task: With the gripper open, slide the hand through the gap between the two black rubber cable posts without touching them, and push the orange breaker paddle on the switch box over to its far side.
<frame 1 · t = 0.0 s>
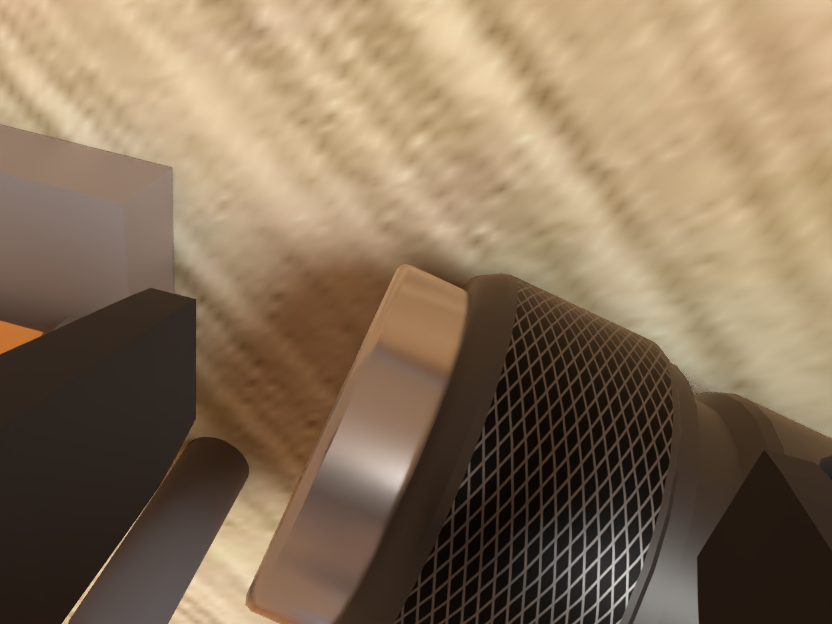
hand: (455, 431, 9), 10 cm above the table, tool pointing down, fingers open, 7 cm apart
switch box: (53, 271, 22), on the table
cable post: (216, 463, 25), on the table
muzzle brake: (807, 489, 21), on the table
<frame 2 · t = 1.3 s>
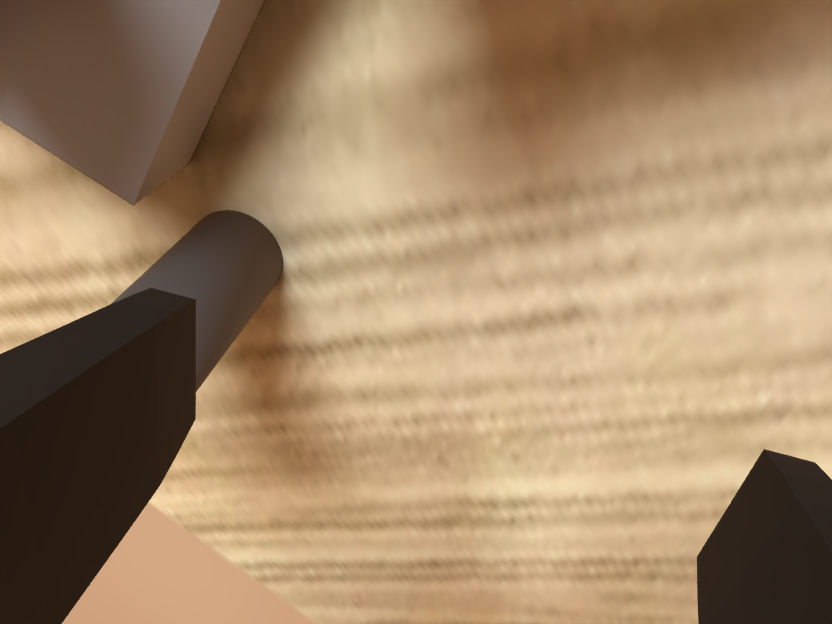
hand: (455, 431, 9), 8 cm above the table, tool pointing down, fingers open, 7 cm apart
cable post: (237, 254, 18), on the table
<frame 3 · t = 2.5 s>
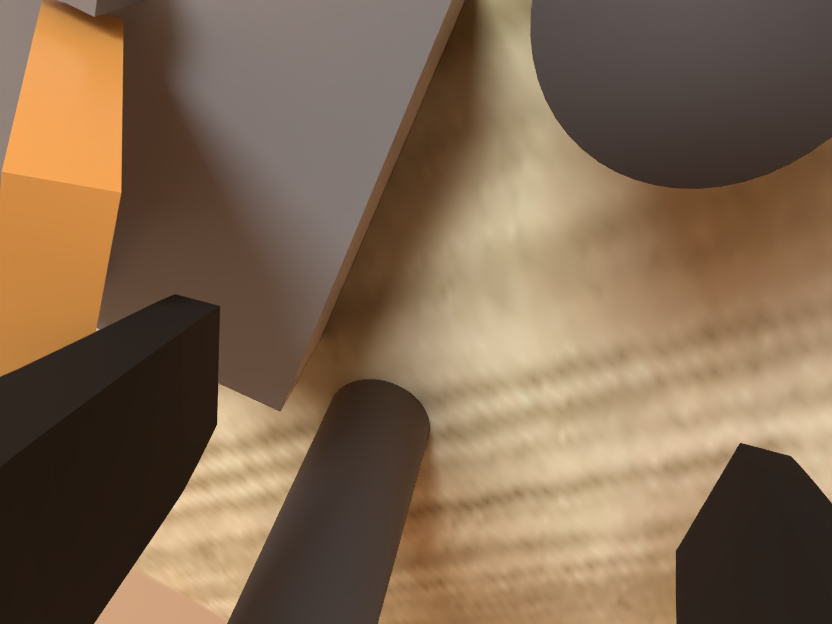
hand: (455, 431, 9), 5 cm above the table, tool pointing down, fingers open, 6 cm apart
breaker paddle: (58, 214, 9), point 5 cm above the table, hinge at -29.7°, touching gripper
switch box: (165, 81, 13), on the table
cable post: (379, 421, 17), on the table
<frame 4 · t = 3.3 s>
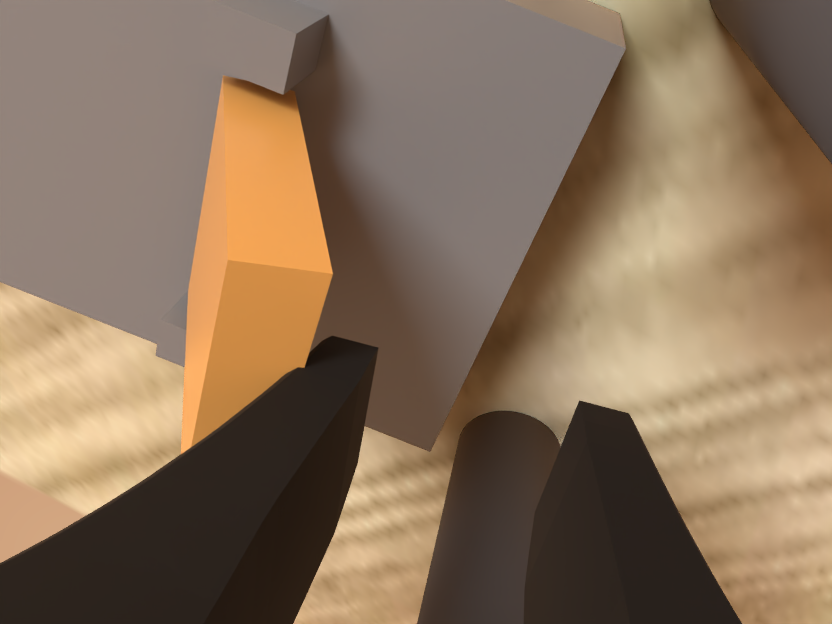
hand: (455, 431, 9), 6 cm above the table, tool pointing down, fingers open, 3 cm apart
breaker paddle: (241, 284, 9), point 5 cm above the table, hinge at -25.1°, touching gripper
switch box: (301, 136, 14), on the table
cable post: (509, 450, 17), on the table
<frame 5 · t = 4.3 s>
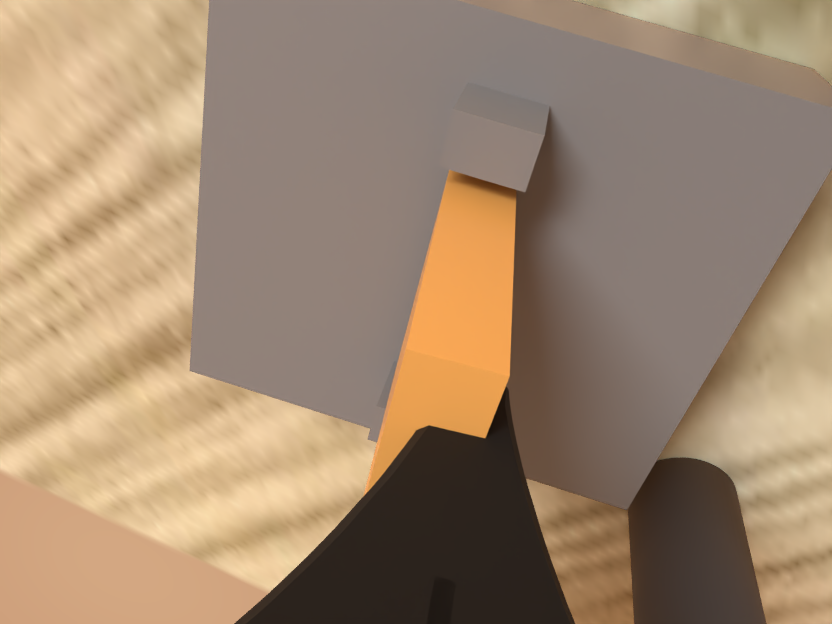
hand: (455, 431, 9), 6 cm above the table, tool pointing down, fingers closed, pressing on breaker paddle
breaker paddle: (435, 370, 10), point 5 cm above the table, hinge at -4.3°, touching gripper
switch box: (476, 208, 14), on the table
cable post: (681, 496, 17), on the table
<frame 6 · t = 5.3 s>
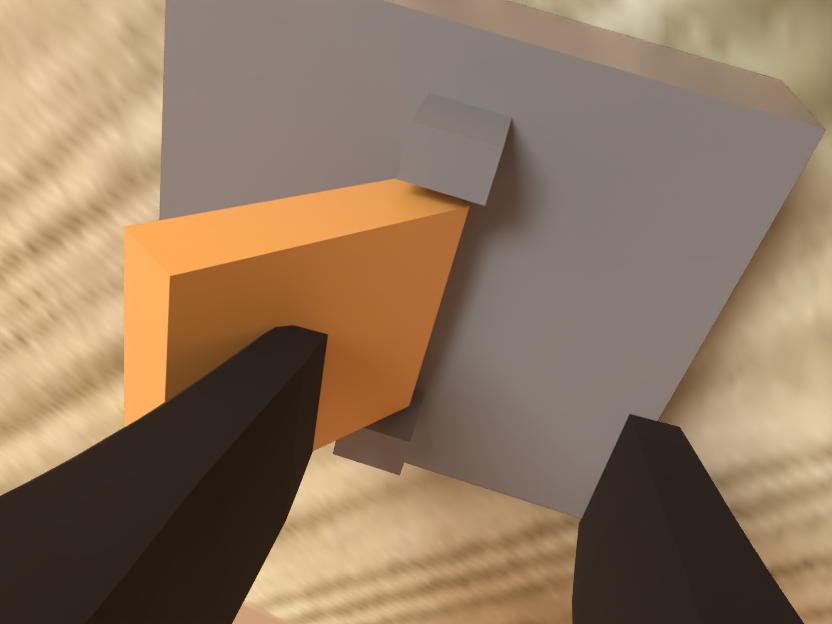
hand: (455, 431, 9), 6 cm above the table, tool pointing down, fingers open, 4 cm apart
breaker paddle: (299, 336, 10), point 5 cm above the table, hinge at 35.8°, touching gripper
switch box: (445, 218, 14), on the table
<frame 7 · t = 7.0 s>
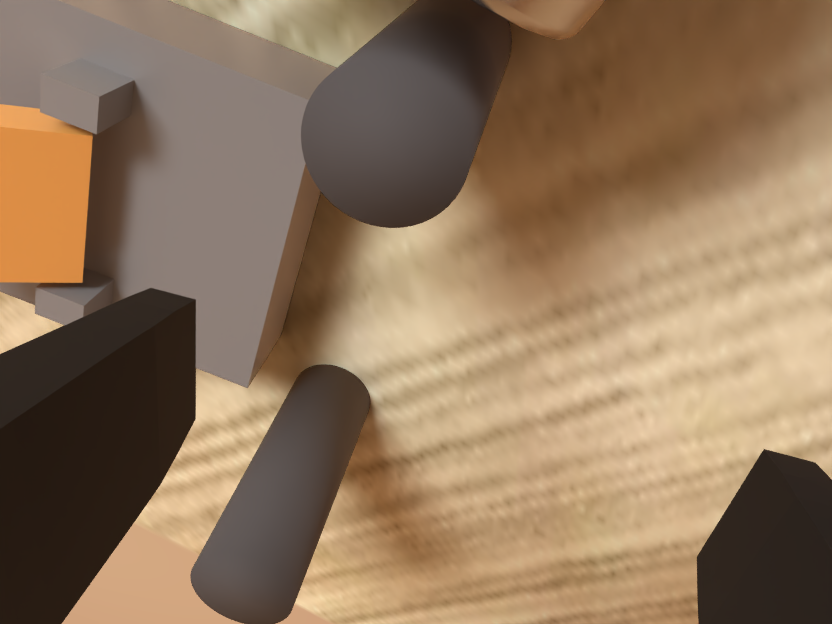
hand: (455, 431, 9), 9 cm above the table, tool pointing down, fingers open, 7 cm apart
switch box: (151, 157, 19), on the table
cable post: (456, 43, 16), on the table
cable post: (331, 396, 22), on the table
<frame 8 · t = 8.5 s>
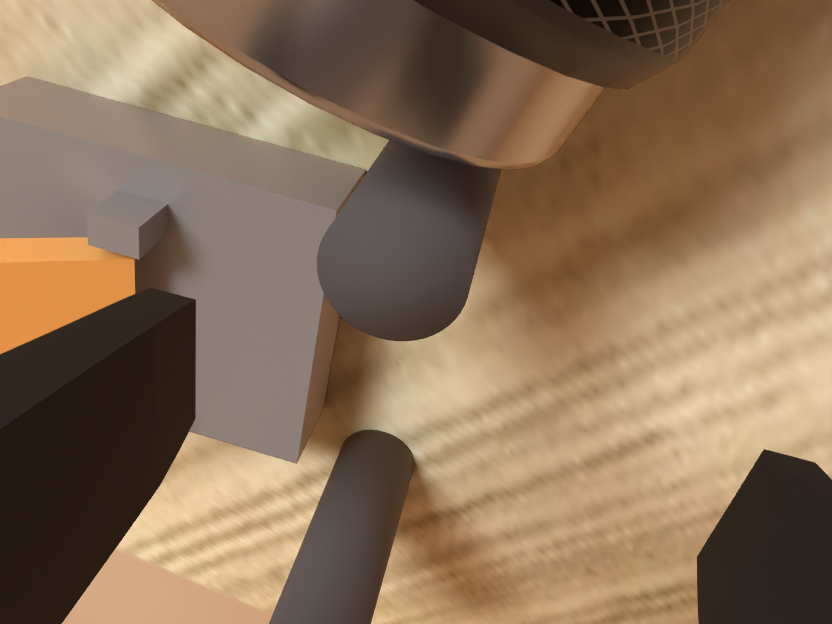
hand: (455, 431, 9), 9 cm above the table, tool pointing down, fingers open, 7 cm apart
breaker paddle: (33, 319, 17), point 4 cm above the table, hinge at 56.8°
switch box: (189, 258, 20), on the table
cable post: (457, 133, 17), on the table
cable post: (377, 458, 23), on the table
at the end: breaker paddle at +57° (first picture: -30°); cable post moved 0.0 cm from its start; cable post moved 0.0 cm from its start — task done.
